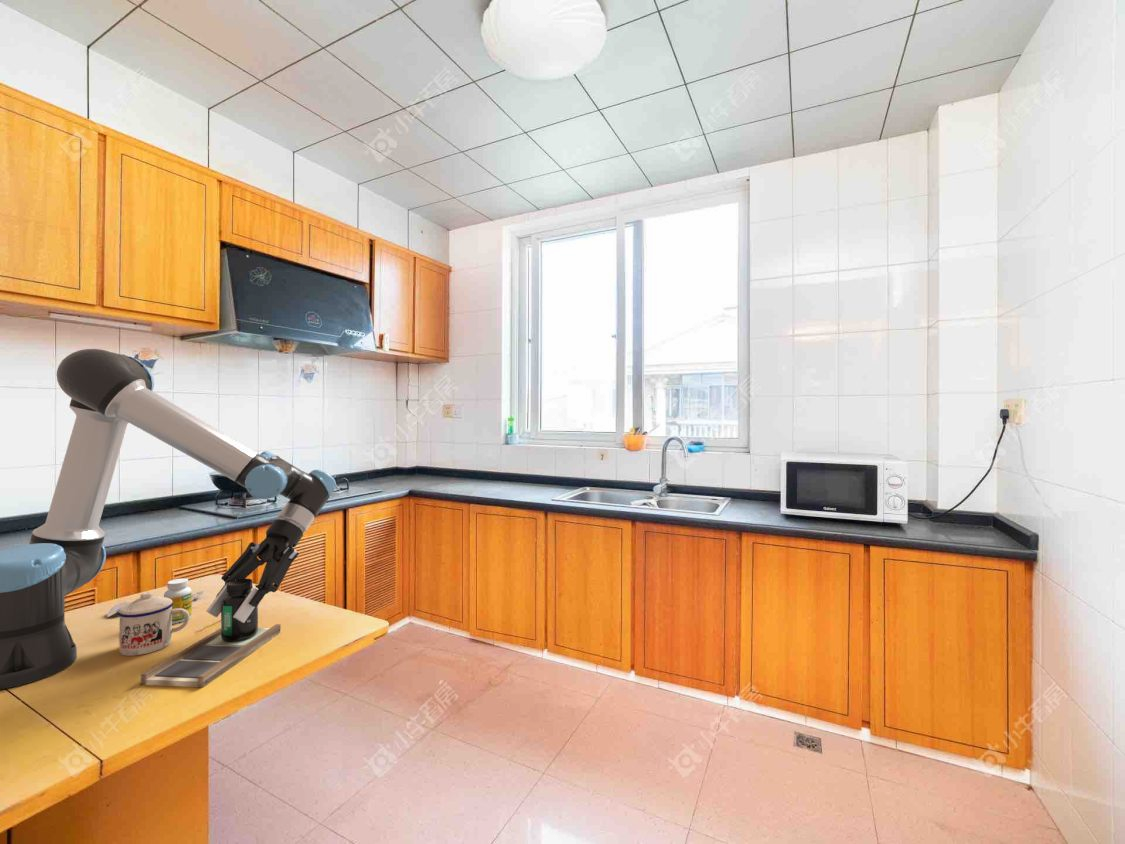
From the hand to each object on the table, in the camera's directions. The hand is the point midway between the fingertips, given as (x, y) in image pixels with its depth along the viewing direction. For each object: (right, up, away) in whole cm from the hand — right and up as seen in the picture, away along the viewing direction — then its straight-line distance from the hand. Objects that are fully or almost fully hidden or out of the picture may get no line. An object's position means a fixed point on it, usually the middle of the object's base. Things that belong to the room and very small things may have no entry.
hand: (224, 616), depth 106 cm
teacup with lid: (-16, -7, +1) cm, 18 cm away
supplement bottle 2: (+1, -6, +3) cm, 7 cm away
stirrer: (-33, -7, +23) cm, 41 cm away
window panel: (+1, -7, -3) cm, 8 cm away
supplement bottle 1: (-21, -7, +14) cm, 27 cm away
